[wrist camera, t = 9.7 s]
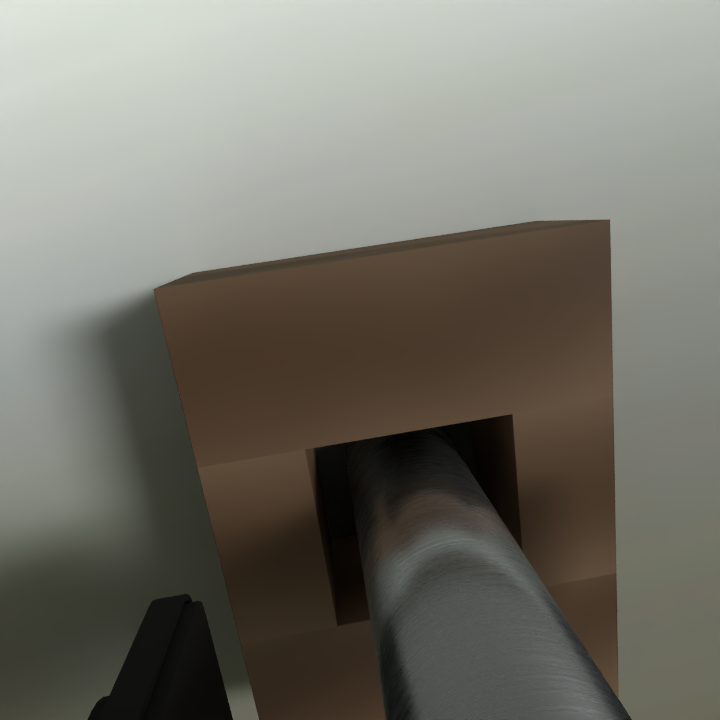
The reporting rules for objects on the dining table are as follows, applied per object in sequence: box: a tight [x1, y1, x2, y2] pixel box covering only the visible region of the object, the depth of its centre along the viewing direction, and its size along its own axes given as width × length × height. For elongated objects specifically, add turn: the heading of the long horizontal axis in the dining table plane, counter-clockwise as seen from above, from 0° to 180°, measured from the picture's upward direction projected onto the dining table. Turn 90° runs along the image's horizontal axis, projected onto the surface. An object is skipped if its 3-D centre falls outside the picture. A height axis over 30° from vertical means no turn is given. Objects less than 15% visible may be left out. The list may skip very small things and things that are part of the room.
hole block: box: [154, 220, 618, 720], centre depth 13 cm, size 12×9×4 cm
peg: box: [346, 426, 632, 720], centre depth 10 cm, size 3×3×10 cm
